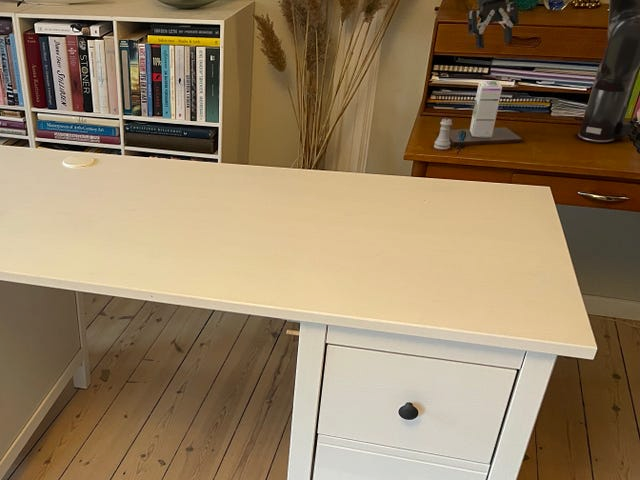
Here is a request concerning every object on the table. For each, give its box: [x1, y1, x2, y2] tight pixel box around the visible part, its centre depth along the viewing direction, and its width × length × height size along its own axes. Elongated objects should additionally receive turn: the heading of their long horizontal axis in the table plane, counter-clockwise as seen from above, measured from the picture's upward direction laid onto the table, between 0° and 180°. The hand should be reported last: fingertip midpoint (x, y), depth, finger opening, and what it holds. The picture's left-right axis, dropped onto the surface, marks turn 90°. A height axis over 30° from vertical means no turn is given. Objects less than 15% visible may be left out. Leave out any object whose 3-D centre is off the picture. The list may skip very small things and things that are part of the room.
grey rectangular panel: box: [449, 126, 523, 147], centre depth 217 cm, size 20×11×1 cm, turn 93°
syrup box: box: [469, 80, 503, 137], centre depth 212 cm, size 6×6×14 cm
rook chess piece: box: [433, 118, 453, 151], centre depth 209 cm, size 4×4×8 cm
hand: (494, 45), depth 211 cm, fingers open, 8 cm apart
